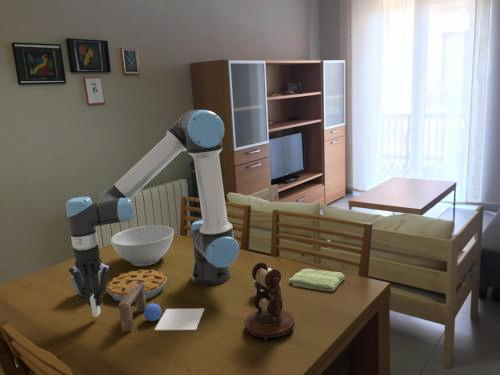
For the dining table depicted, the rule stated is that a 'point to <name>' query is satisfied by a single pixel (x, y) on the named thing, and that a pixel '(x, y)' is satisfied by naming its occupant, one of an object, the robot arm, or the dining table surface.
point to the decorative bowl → (143, 244)
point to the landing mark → (180, 319)
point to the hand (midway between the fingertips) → (96, 314)
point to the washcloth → (317, 279)
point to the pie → (126, 281)
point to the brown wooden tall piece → (268, 305)
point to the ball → (152, 312)
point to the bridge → (125, 306)
